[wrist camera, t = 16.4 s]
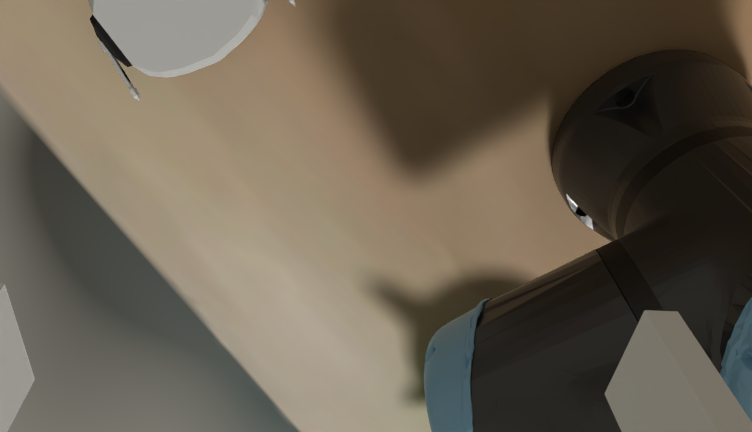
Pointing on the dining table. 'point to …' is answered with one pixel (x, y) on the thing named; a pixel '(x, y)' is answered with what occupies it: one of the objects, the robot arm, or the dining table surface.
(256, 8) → the robot toy
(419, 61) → the dining table surface
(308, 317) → the dining table surface
